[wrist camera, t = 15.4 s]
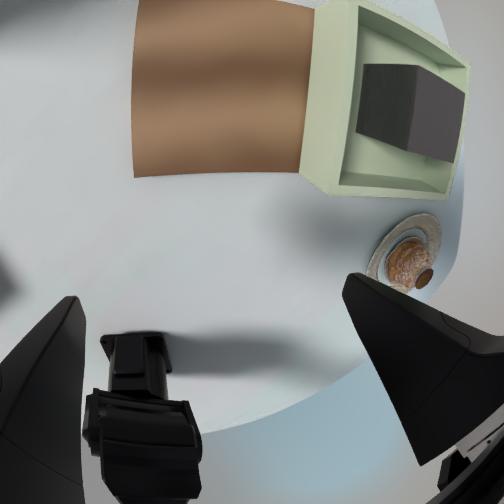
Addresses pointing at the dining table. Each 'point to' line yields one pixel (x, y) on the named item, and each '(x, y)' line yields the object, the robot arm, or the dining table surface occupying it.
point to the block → (410, 109)
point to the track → (219, 86)
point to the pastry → (409, 254)
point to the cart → (348, 96)
